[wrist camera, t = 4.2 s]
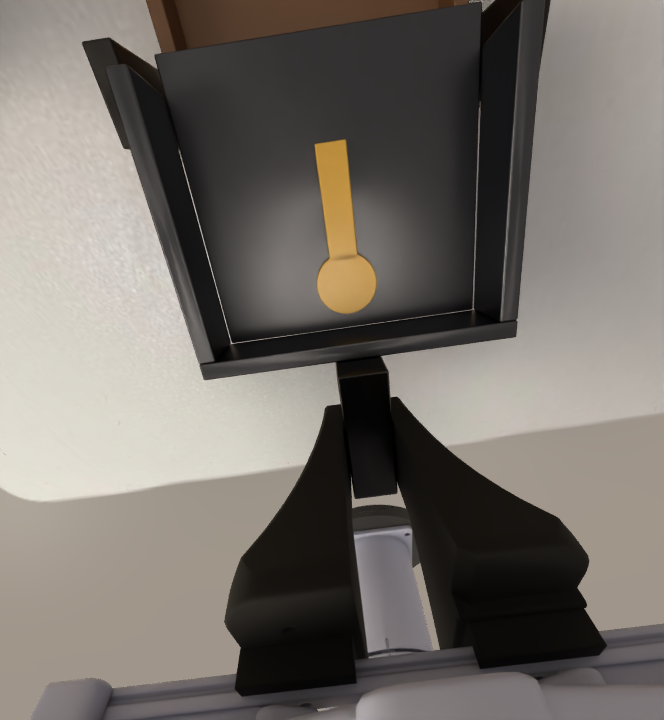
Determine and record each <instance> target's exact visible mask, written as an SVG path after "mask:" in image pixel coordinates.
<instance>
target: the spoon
mask: <svg viewBox="0 0 664 720" xmlns="http://www.w3.org/2000/svg"><path fill="white" fill-rule="evenodd" d="M315 154H316V161H317V169H318V176H319V184H320V191H321V199H322V206H323V214H324V221H325V229H326V236H327V244H328V251H329V258H328V259H327V260H326V261H325V262H324V263H323V264H322V266H321V268H320V270H319V272H318V276H317V291H318V294H319V297H320V299H321V300H322V302H323V303H324V304H325V305H326V306H327V307H328V308H329V309H331V310H333V311H335V312H338V313H342V314H351V313H355V312H358V311H360V310H362V309H363V308H365V307H366V306H367V305H368V304H369V303H370V302H371V300H372V299H373V297H374V295H375V292H376V288H377V277H376V273H375V270H374V268H373V266H372V265H371V263H370V262H369V261H368V260H367V259H366V258H364V257H363V256H361V255H359V254H358V252H357V242H356V232H355V222H354V212H353V202H352V192H351V182H350V172H349V162H348V152H347V143H346V140H345V139H344V140H337V141H331V142H324V143H318V144H315Z"/></svg>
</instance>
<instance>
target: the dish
mask: <svg viewBox="0 0 664 720" xmlns="http://www.w3.org/2000/svg"><path fill="white" fill-rule="evenodd" d="M544 9H545V0H522V1H520V3H519V4H518V5H517V6H516V7H515V8H514V10H513V11H512V12H511V13H510V14H509V16H508V17H507V18H506V19H505V20H504V21H503V23H502V24H501V25H500V26H499V27H498V28H497V30H496V31H495V32H494V33H493V34H492V36H491V37H490V38H489V39H488V40H487V41H486V43H485V44H484V45H483V52H482V82H481V112H480V142H479V172H478V202H477V231H476V261H475V291H474V309H475V310H471V309H472V306H473V275H474V243H475V212H476V180H477V149H478V117H479V85H480V54H481V22H482V2H475V3H469V4H463V5H457V6H451V7H445V8H438V9H432V10H426V11H420V12H414V13H408V14H401V15H395V16H389V17H383V18H377V19H370V20H364V21H358V22H352V23H346V24H340V25H333V26H327V27H321V28H315V29H309V30H303V31H296V32H290V33H284V34H278V35H272V36H265V37H259V38H253V39H247V40H241V41H235V42H228V43H222V44H216V45H210V46H204V47H198V48H191V49H185V50H179V51H173V52H167V53H160V54H155V60H156V64H157V67H158V71H159V75H160V79H161V82H162V86H163V90H164V93H165V97H166V101H167V104H168V108H169V112H170V116H171V119H172V123H173V127H174V130H175V134H176V138H177V141H178V145H179V149H180V152H181V156H182V160H183V164H184V167H185V171H186V175H187V178H188V182H189V186H190V189H191V193H192V197H193V201H194V204H195V208H196V212H197V215H198V219H199V223H200V226H201V230H202V234H203V238H204V241H205V245H206V249H207V252H208V256H209V260H210V263H211V267H212V271H213V274H214V278H215V282H216V286H217V289H218V293H219V297H220V300H221V304H222V308H223V311H224V315H225V319H226V323H227V326H228V330H229V334H230V337H231V341H232V343H236V344H231V342H230V338H229V334H228V331H227V327H226V323H225V320H224V316H223V312H222V309H221V305H220V301H219V298H218V294H217V290H216V287H215V283H214V279H213V276H212V272H211V268H210V265H209V261H208V257H207V254H206V250H205V246H204V243H203V239H202V235H201V232H200V228H199V224H198V221H197V217H196V213H195V209H194V206H193V202H192V198H191V195H190V191H189V187H188V184H187V180H186V176H185V173H184V169H183V165H182V162H181V158H180V154H179V151H178V147H177V143H176V140H175V136H174V132H173V129H172V125H171V121H170V118H169V114H168V110H167V107H166V103H165V99H164V97H163V96H162V95H161V94H160V93H159V92H158V91H157V90H156V89H155V88H153V87H152V86H151V85H150V84H149V83H148V82H147V81H145V80H144V79H143V78H142V77H141V76H140V75H139V74H137V73H136V72H135V71H134V70H133V69H132V68H131V67H130V66H128V65H127V64H120V65H114V66H107V67H105V72H106V75H107V78H108V81H109V84H110V88H111V91H112V94H113V97H114V100H115V103H116V106H117V109H118V113H119V116H120V119H121V122H122V125H123V128H124V131H125V134H126V138H127V141H128V144H129V147H130V150H131V153H132V156H133V159H134V162H135V166H136V169H137V172H138V175H139V178H140V181H141V184H142V187H143V191H144V194H145V197H146V200H147V203H148V206H149V209H150V212H151V215H152V219H153V222H154V225H155V228H156V231H157V234H158V237H159V240H160V244H161V247H162V250H163V253H164V256H165V259H166V262H167V265H168V268H169V272H170V275H171V278H172V281H173V284H174V287H175V290H176V293H177V297H178V300H179V303H180V306H181V309H182V312H183V315H184V318H185V322H186V325H187V328H188V331H189V334H190V337H191V340H192V343H193V346H194V350H195V353H196V356H197V359H198V362H199V364H200V369H201V372H202V375H203V378H204V380H210V379H217V378H224V377H232V376H239V375H246V374H253V373H260V372H268V371H275V370H282V369H289V368H296V367H304V366H311V365H318V364H325V363H333V362H335V363H336V372H337V381H338V388H339V395H340V402H341V409H342V416H343V422H344V429H345V436H346V443H347V450H348V457H349V464H350V471H351V478H352V484H353V491H354V497H355V499H360V498H367V497H376V496H383V495H391V494H397V477H396V464H395V451H394V438H393V425H392V411H391V398H390V385H389V372H388V370H387V368H386V365H385V363H384V361H383V359H382V357H381V356H383V355H390V354H398V353H405V352H412V351H419V350H426V349H434V348H441V347H448V346H455V345H462V344H470V343H477V342H484V341H491V340H499V339H506V338H513V337H516V333H517V318H518V307H519V295H520V284H521V272H522V261H523V250H524V238H525V227H526V215H527V204H528V192H529V181H530V169H531V158H532V146H533V135H534V123H535V112H536V101H537V89H538V78H539V66H540V55H541V43H542V32H543V20H544ZM344 139H345V140H346V143H347V152H348V162H349V172H350V182H351V192H352V202H353V212H354V222H355V232H356V242H357V252H358V254H359V255H361V256H363V257H364V258H366V259H367V260H368V261H369V262H370V263H371V265H372V266H373V268H374V270H375V273H376V277H377V288H376V292H375V295H374V297H373V299H372V300H371V302H370V303H369V304H368V305H367V306H366V307H365V308H363V309H362V310H360V311H358V312H355V313H351V314H342V313H338V312H335V311H333V310H331V309H329V308H328V307H327V306H326V305H325V304H324V303H323V302H322V300H321V299H320V297H319V294H318V291H317V276H318V272H319V270H320V268H321V266H322V264H323V263H324V262H325V261H326V260H327V259H328V258H329V251H328V244H327V236H326V229H325V221H324V214H323V206H322V199H321V191H320V184H319V176H318V169H317V161H316V154H315V144H318V143H324V142H331V141H337V140H344ZM464 310H470V311H464ZM457 311H463V312H457ZM450 312H456V313H450ZM443 313H449V314H443ZM436 314H442V315H436ZM429 315H435V316H429ZM422 316H428V317H422ZM415 317H421V318H415ZM407 318H413V319H407ZM400 319H406V320H400ZM393 320H399V321H393ZM386 321H392V322H386ZM379 322H385V323H379ZM372 323H378V324H372ZM365 324H371V325H365ZM358 325H364V326H358ZM351 326H357V327H351ZM344 327H350V328H344ZM336 328H342V329H336ZM329 329H335V330H329ZM322 330H328V331H322ZM315 331H321V332H315ZM308 332H314V333H308ZM301 333H307V334H301ZM294 334H300V335H294ZM287 335H293V336H287ZM280 336H286V337H280ZM273 337H278V338H273ZM265 338H271V339H265ZM258 339H264V340H258ZM251 340H257V341H251ZM244 341H250V342H244ZM237 342H243V343H237Z"/></svg>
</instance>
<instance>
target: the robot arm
mask: <svg viewBox="0 0 664 720" xmlns="http://www.w3.org/2000/svg"><path fill="white" fill-rule="evenodd" d="M390 398H391V411H392V425H393V438H394V451H395V464H396V477H397V483H398V486H399V488H400V491H401V495H402V497H403V500H404V503H405V506H406V509H407V512H408V515H409V519H410V522H411V526H412V528H411V526H410V525H401V526H394V527H386V528H378V529H370V530H362V531H354V532H353V521H352V495H351V471H350V464H349V457H348V450H347V443H346V436H345V429H344V422H343V416H342V409H341V404H339V405H331V406H327V407H326V408H325V412H324V417H323V421H322V425H321V428H320V431H319V434H318V437H317V440H316V443H315V445H314V448H313V450H312V452H311V455H310V457H309V459H308V462H307V464H306V466H305V468H304V470H303V472H302V474H301V476H300V478H299V479H298V481H297V483H296V485H295V486H294V488H293V490H292V491H291V493H290V495H289V496H288V498H287V499H286V501H285V503H284V504H283V505H282V507H281V509H280V510H279V511H278V513H277V514H276V515H275V517H274V518H273V520H272V521H271V522H270V523H269V525H268V526H267V528H266V529H265V530H264V531H263V533H262V534H261V535H260V536H259V537H258V539H257V540H256V541H255V542H254V543H253V544H252V546H251V547H250V548H249V549H248V550H247V551H246V553H245V554H244V555H243V556H242V557H241V559H240V562H239V564H238V567H237V570H236V573H235V576H234V579H233V582H232V586H231V589H230V594H229V599H228V604H227V609H226V615H225V621H224V622H225V625H226V627H227V629H228V630H229V632H230V633H231V635H232V636H233V637H234V639H235V640H236V641H237V643H238V644H239V646H240V647H241V650H240V655H239V663H238V669H237V674H231V675H222V676H213V677H205V678H196V679H188V680H179V681H171V682H162V683H154V684H146V685H137V686H128V687H119V688H112V687H111V685H110V684H109V683H107V682H106V681H104V680H101V679H96V678H85V679H76V680H68V681H60V682H51V683H49V684H48V685H47V686H46V687H45V689H44V691H43V692H42V694H41V696H40V698H39V700H38V702H37V704H36V706H35V708H34V710H33V711H32V714H31V715H30V717H29V719H28V720H664V624H657V625H648V626H640V627H631V628H623V629H614V630H607V631H598V630H597V628H596V627H595V625H594V623H593V622H592V620H591V619H590V617H589V615H588V614H587V612H586V611H585V609H584V608H586V606H587V603H586V601H585V599H584V598H583V596H582V594H581V593H580V591H579V590H578V588H577V587H578V585H579V583H580V582H581V580H582V578H583V577H584V575H585V573H586V571H587V568H588V565H589V558H588V555H587V553H586V552H585V551H584V549H583V548H582V546H581V545H580V544H579V542H578V541H577V539H576V538H575V537H574V536H573V534H572V533H571V532H570V531H569V530H568V528H566V526H565V525H564V524H563V523H562V522H561V520H560V519H559V518H558V517H556V516H554V515H552V514H550V513H548V512H546V511H544V510H542V509H540V508H538V507H536V506H534V505H532V504H530V503H528V502H526V501H524V500H522V499H520V498H519V497H517V496H515V495H513V494H512V493H510V492H508V491H506V490H505V489H502V488H501V487H500V486H498V485H497V484H495V483H493V482H492V481H490V480H489V479H487V478H486V477H484V476H483V475H481V474H479V473H478V472H476V471H475V470H474V469H472V468H471V467H470V466H468V465H467V464H466V463H464V462H463V461H462V460H460V459H459V458H458V457H456V456H455V455H454V454H453V453H452V452H450V451H449V450H448V449H447V448H446V447H445V446H444V445H442V444H441V443H440V442H439V441H438V440H437V439H436V438H435V437H434V436H433V435H432V434H431V433H430V432H429V431H428V430H427V429H426V428H425V427H424V426H423V425H422V424H421V423H420V422H419V421H418V420H417V419H416V418H415V417H414V416H413V414H412V413H411V412H410V411H409V410H408V409H407V407H406V406H405V405H404V404H403V402H402V401H401V400H400V399H399V398H398V397H390ZM412 530H413V534H414V538H415V542H416V546H417V550H418V555H419V559H420V563H421V567H422V571H423V575H424V580H425V584H426V589H427V593H428V597H429V602H430V606H431V610H432V615H433V619H434V623H435V628H436V633H437V637H438V642H439V646H440V650H435V651H433V647H432V643H431V639H430V635H429V631H428V627H427V623H426V619H425V615H424V611H423V607H422V603H421V600H420V595H419V592H418V587H417V583H416V579H415V576H414V572H413V568H412ZM320 708H326V710H324V711H320V712H318V710H317V709H320Z"/></svg>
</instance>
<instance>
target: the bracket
mask: <svg viewBox="0 0 664 720" xmlns="http://www.w3.org/2000/svg"><path fill="white" fill-rule="evenodd" d="M520 1H522V0H495V1H494V2H493V3H492V4H491V5H490V6H488V7H487V8H486V9H485V10H484V11H483V12H482V22H481V54H480V85H479V107H481V82H482V52H483V45H484V44H485V43H486V41H487V40H488V39H489V38H490V37H491V36H492V34H493V33H494V32H495V31H496V30H497V28H498V27H499V26H500V25H501V24H502V23H503V21H504V20H505V19H506V18H507V17H508V16H509V14H510V13H511V12H512V11H513V10H514V8H515V7H516V6H517V5H518V4H519V3H520ZM550 1H551V0H545V9H544V20H543V32H542V43H541V55H540V63H541V57H542V51H543V45H544V39H545V32H546V26H547V20H548V14H549V8H550ZM82 45H83V47H84V50H85V52H86V55H87V57H88V60H89V62H90V65H91V68H92V70H93V73H94V75H95V78H96V80H97V83H98V85H99V88H100V90H101V93H102V95H103V98H104V100H105V103H106V105H107V108H108V111H109V113H110V116H111V118H112V121H113V123H114V126H115V128H116V131H117V133H118V136H119V138H120V141H121V143H122V146H123V148H124V149H129V150H130V147H129V144H128V141H127V138H126V134H125V131H124V128H123V125H122V122H121V119H120V116H119V113H118V109H117V106H116V103H115V100H114V97H113V94H112V91H111V88H110V84H109V81H108V78H107V75H106V72H105V67H107V66H114V65H120V64H127V65H128V66H130V67H131V68H132V69H133V70H134V71H135V72H136V73H137V74H139V75H140V76H141V77H142V78H143V79H144V80H145V81H147V82H148V83H149V84H150V85H151V86H152V87H153V88H155V89H156V90H157V91H158V92H159V93H160V94H161V95H162V96H163V97H164V99H165V103H166V107H167V110H168V114H169V118H170V121H171V125H172V129H173V132H174V136H175V140H176V143H177V147H178V151H179V154H180V155H181V152H180V149H179V145H178V141H177V138H176V134H175V130H174V127H173V123H172V119H171V116H170V112H169V108H168V104H167V101H166V97H165V93H164V90H163V86H162V82H161V79H160V75H159V71H158V69H156V68H155V67H153V66H152V65H150V64H149V63H147V62H146V61H144V60H143V59H141V58H140V57H138V56H137V55H135V54H134V53H132V52H131V51H129V50H128V49H126V48H124V47H123V46H121V45H120V44H118V43H117V42H115V41H114V40H112V39H111V38H109V37H108V38H102V39H96V40H90V41H84V42H82ZM539 70H540V66H539Z"/></svg>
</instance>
